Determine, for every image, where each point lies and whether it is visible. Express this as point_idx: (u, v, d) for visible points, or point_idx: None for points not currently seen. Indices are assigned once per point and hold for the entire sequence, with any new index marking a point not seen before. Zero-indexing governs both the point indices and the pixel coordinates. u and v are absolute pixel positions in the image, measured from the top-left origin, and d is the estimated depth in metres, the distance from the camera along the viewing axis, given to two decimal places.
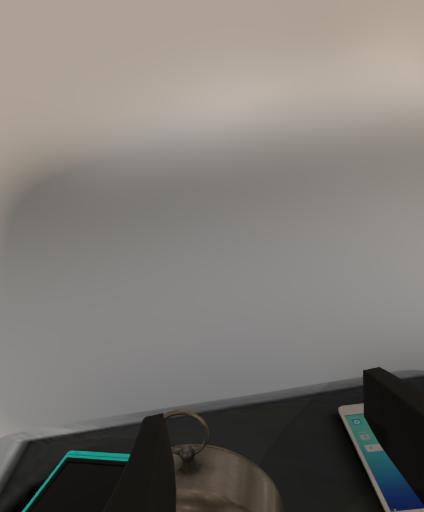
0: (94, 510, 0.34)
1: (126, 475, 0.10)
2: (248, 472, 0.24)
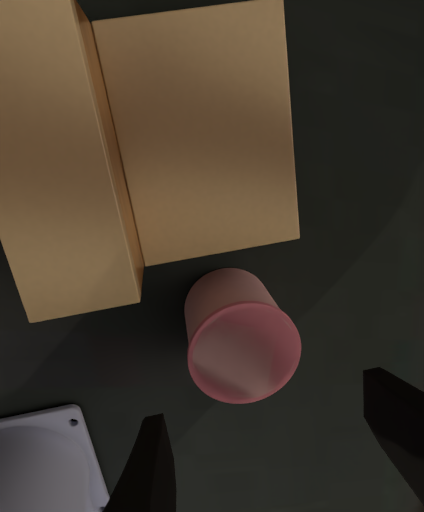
0: None
1: (126, 475, 0.10)
2: None
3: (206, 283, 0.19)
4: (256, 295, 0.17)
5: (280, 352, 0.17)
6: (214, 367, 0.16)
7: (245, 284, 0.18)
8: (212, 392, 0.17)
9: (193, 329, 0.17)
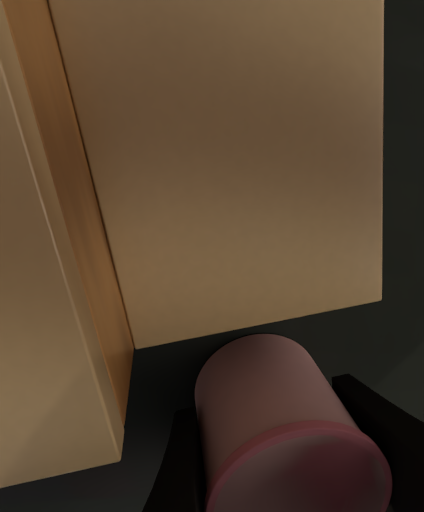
0: None
1: (166, 466, 0.10)
2: None
3: (229, 362, 0.12)
4: (315, 397, 0.10)
5: (358, 498, 0.10)
6: None
7: (292, 372, 0.11)
8: None
9: (213, 458, 0.10)
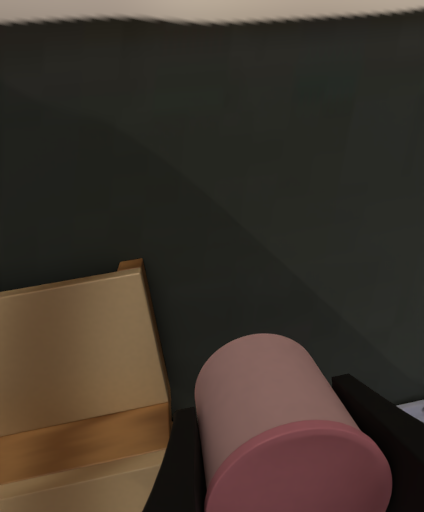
0: None
1: (166, 466, 0.10)
2: None
3: (229, 362, 0.12)
4: (315, 397, 0.10)
5: (358, 497, 0.10)
6: None
7: (292, 372, 0.11)
8: None
9: (213, 458, 0.10)
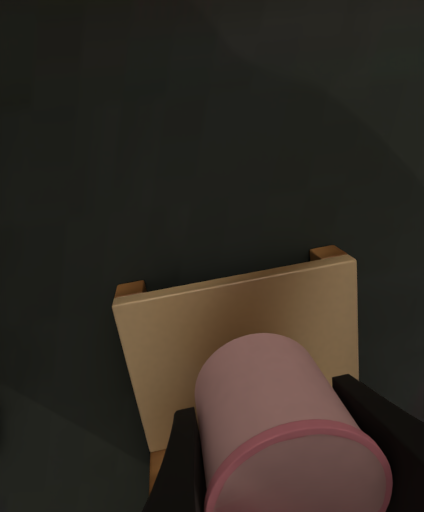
0: None
1: (166, 466, 0.10)
2: None
3: (229, 362, 0.12)
4: (315, 397, 0.10)
5: (358, 497, 0.10)
6: None
7: (292, 371, 0.11)
8: None
9: (213, 457, 0.10)
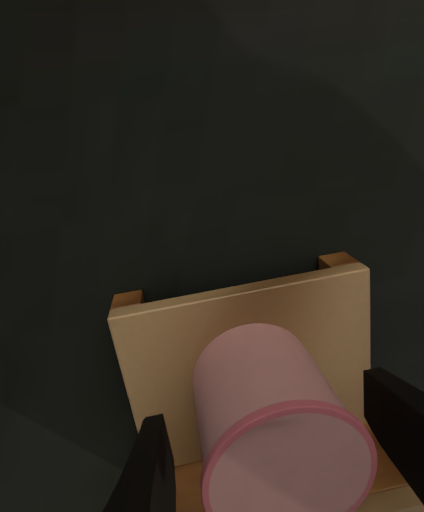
0: None
1: (126, 476, 0.10)
2: None
3: (225, 349, 0.13)
4: (305, 380, 0.11)
5: (345, 474, 0.11)
6: (243, 500, 0.10)
7: (284, 358, 0.12)
8: None
9: (209, 437, 0.11)
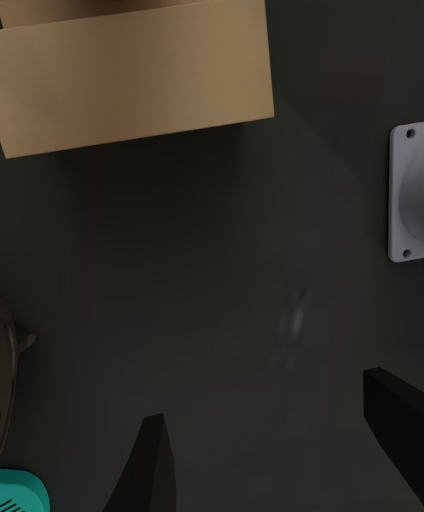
0: None
1: (126, 475, 0.10)
2: None
3: None
4: None
5: None
6: None
7: None
8: None
9: None
